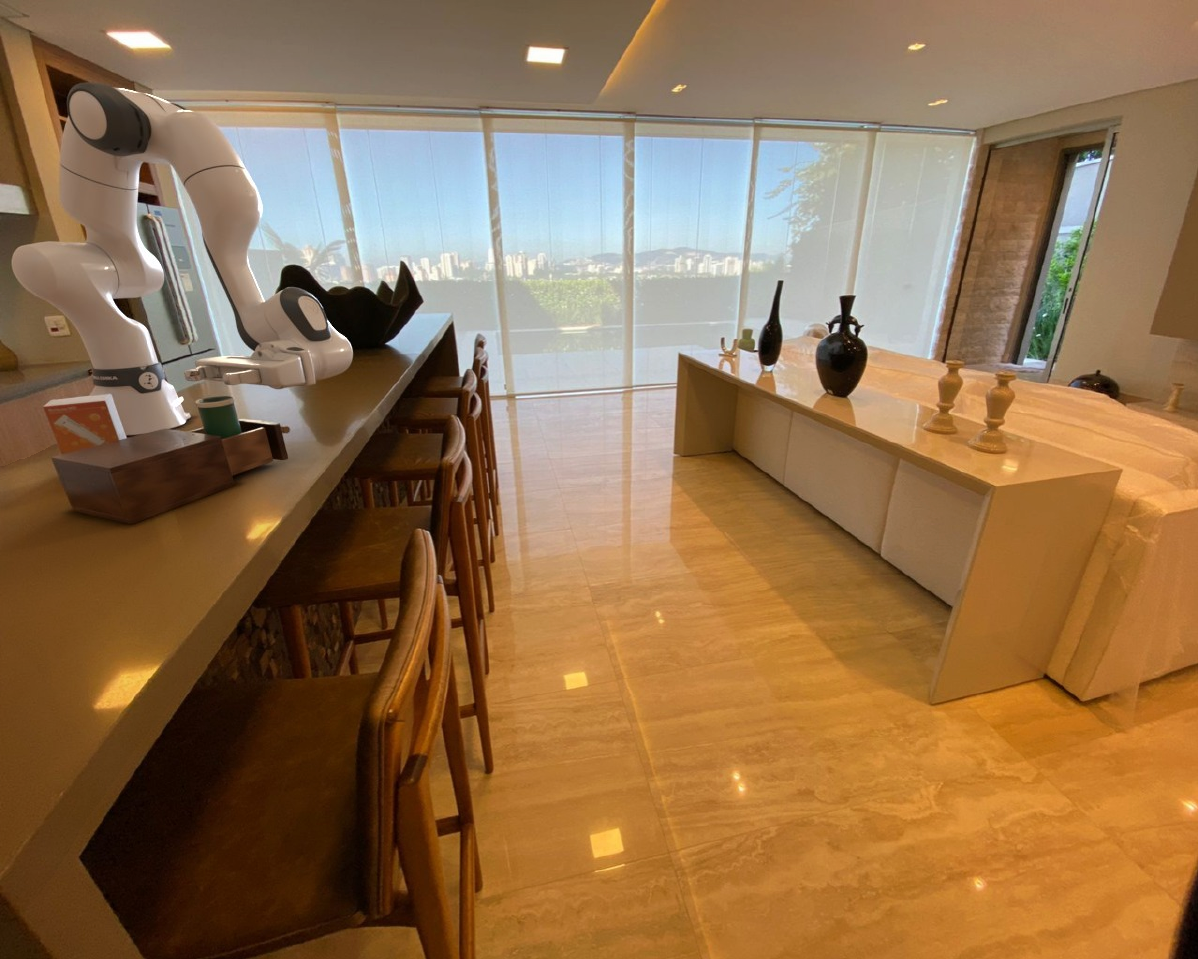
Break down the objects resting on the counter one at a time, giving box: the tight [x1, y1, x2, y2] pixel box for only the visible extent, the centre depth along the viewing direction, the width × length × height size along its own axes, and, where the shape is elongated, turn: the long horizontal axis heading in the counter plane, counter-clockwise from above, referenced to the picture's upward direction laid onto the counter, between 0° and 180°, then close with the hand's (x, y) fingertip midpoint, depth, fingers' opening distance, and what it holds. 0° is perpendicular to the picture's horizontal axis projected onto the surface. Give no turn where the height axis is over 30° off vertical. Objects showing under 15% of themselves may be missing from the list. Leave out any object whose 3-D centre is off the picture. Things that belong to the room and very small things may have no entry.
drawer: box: [186, 417, 291, 477], centre depth 94 cm, size 19×12×7 cm, turn 159°
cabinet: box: [50, 428, 236, 525], centre depth 82 cm, size 16×14×9 cm
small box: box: [42, 394, 127, 455], centre depth 94 cm, size 8×6×13 cm
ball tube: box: [194, 395, 242, 439], centre depth 92 cm, size 5×5×11 cm
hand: (206, 378), depth 89 cm, fingers open, 8 cm apart
